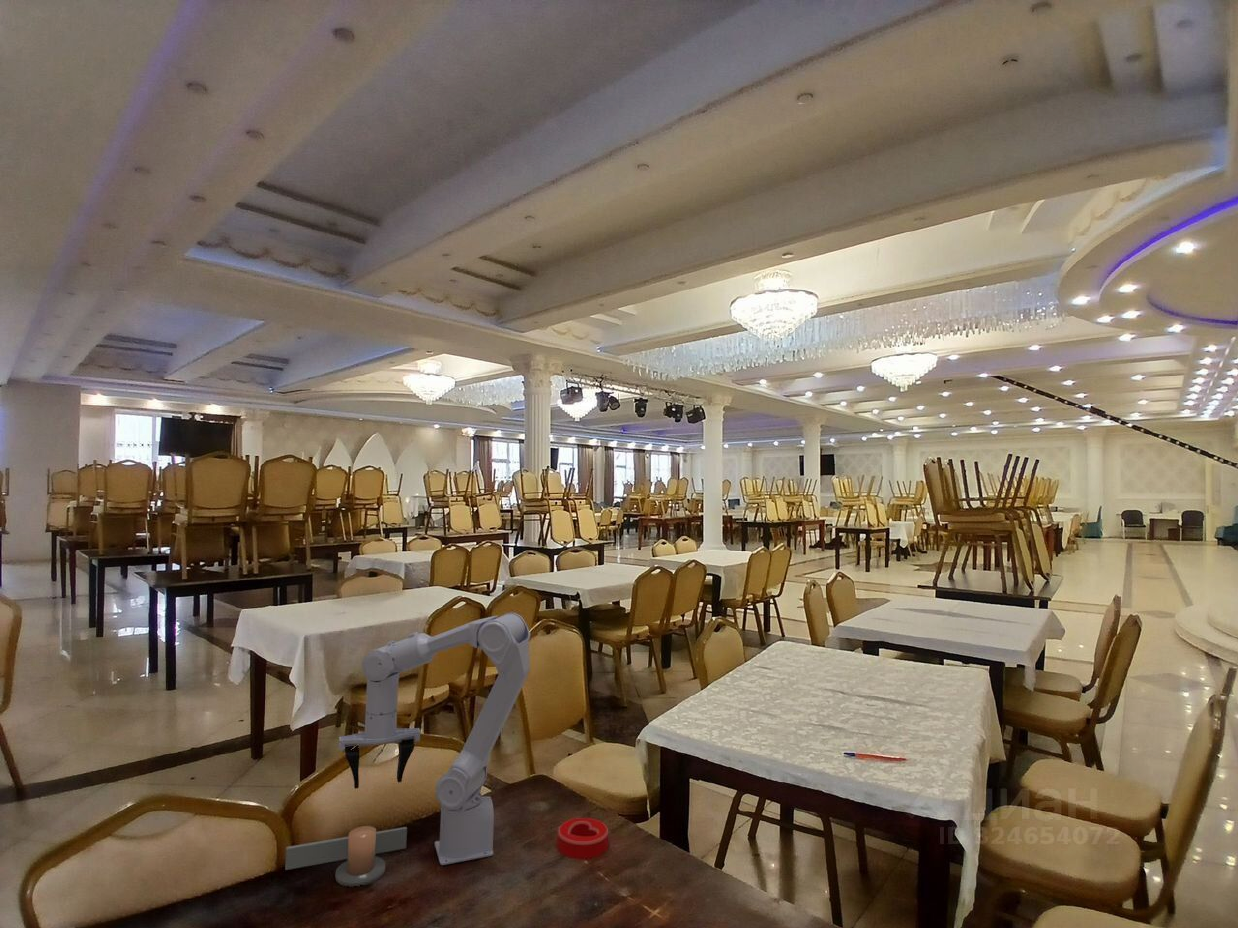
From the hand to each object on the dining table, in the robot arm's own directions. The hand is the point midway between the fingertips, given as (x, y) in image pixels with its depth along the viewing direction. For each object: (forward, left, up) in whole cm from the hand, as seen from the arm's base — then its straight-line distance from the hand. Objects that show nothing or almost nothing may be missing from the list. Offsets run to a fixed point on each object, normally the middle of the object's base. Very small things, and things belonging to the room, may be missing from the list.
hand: (378, 783), depth 122 cm
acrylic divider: (+5, +5, -10) cm, 12 cm away
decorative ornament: (-36, +16, -11) cm, 41 cm away
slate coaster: (+3, +11, -10) cm, 15 cm away
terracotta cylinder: (+3, +11, -10) cm, 15 cm away
